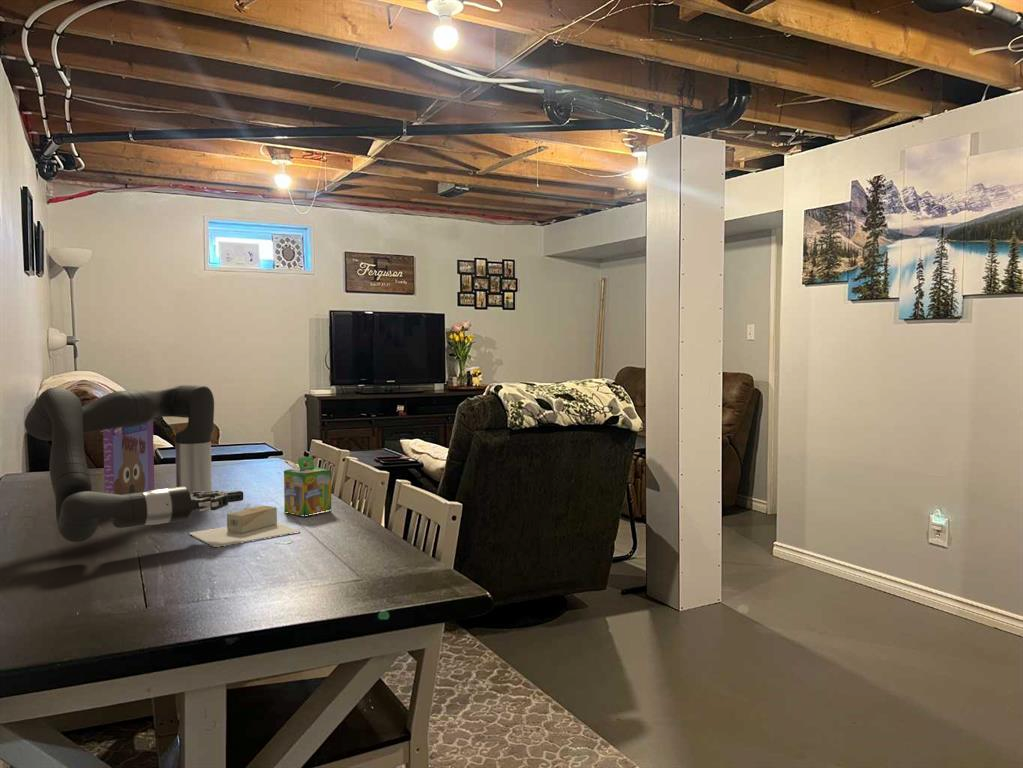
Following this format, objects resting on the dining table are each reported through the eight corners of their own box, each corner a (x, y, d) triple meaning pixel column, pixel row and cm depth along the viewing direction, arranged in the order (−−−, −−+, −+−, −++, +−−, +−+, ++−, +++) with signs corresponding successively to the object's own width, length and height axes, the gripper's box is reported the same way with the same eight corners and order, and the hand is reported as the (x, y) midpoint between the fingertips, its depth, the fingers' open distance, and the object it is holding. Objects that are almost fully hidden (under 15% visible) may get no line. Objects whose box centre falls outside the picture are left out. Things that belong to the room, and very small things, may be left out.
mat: (188, 534, 174) (188, 532, 174) (270, 521, 187) (270, 519, 187) (214, 548, 162) (214, 546, 162) (299, 533, 176) (299, 531, 176)
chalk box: (304, 518, 191) (304, 461, 191) (283, 513, 197) (282, 457, 196) (333, 512, 199) (332, 457, 198) (311, 507, 204) (311, 454, 204)
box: (226, 513, 175) (261, 505, 185) (226, 531, 175) (262, 522, 185) (242, 515, 173) (277, 506, 182) (242, 534, 173) (277, 524, 183)
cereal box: (122, 508, 202) (120, 420, 201) (105, 508, 202) (103, 420, 201) (154, 495, 219) (152, 415, 218) (138, 495, 219) (136, 415, 218)
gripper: (174, 493, 157) (253, 483, 169) (154, 484, 167) (230, 475, 179) (175, 528, 158) (254, 515, 169) (155, 517, 167) (231, 506, 179)
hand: (241, 495), depth 174 cm, fingers closed
